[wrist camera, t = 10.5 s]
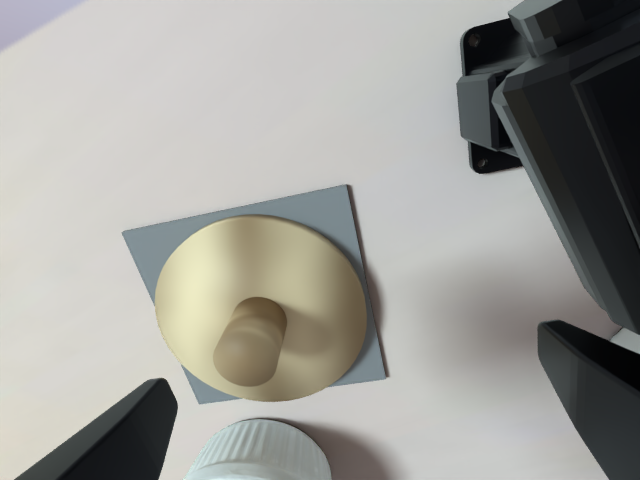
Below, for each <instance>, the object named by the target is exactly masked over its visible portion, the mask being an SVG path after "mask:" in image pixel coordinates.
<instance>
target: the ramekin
mask: <svg viewBox="0 0 640 480" xmlns="http://www.w3.org/2000/svg"><path fill="white" fill-rule="evenodd" d="M183 480H332V478H331V470H330V466H329V463H328V460H327V459H326V456H325V454H324V453H323V452H322V450H321V449H320V447H319V446H318V445H317V444H316V443H315V442H314V441H313V440H312V439H311V438H310V437H309V436H308V435H306V434H305V433H304V432H302V431H301V430H299V429H297V428H295V427H293V426H291V425H288V424H286V423H283V422H279V421H274V420H266V419H252V420H246V421H241V422H237V423H235V424H232V425H230V426H228V427H226V428H224V429H222V430H220V431H219V432H218V433H216V434H214V435H213V437H212V438H210V439H209V441H208V442H207V444H206V445H205V446H204V447H203V449H202V451H201V452H200V454H199V455H198V457H197V458H196V460H195V462H194V463H193V465H192V466H191V468H190V470H189V471H188V473H187V474H186V476H185V478H184V479H183Z"/></svg>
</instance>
